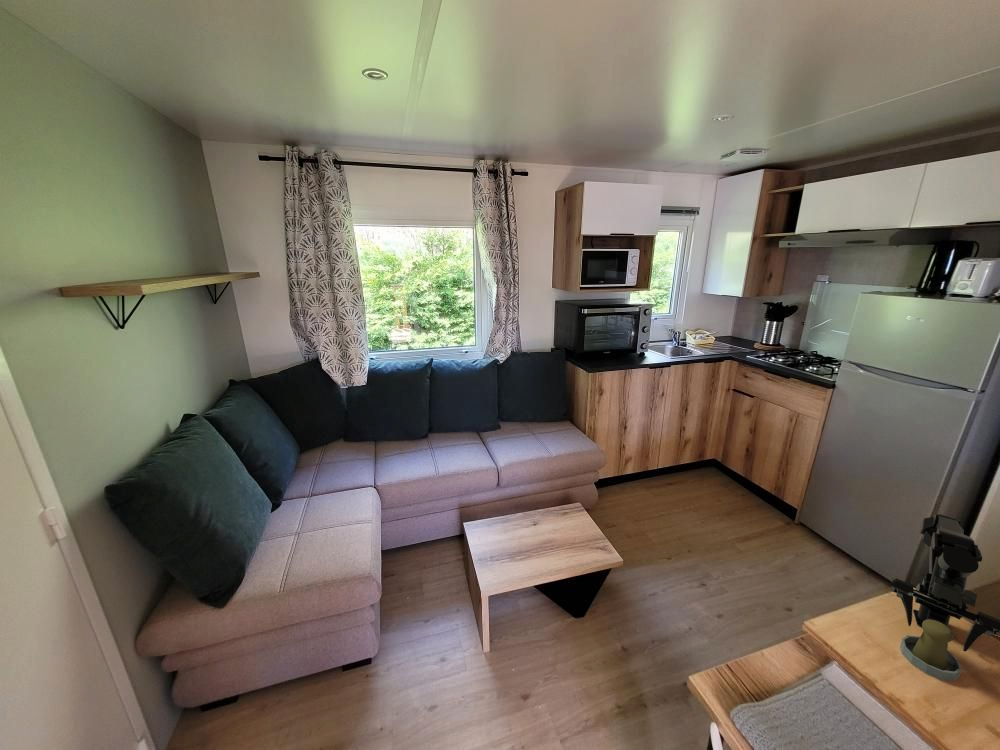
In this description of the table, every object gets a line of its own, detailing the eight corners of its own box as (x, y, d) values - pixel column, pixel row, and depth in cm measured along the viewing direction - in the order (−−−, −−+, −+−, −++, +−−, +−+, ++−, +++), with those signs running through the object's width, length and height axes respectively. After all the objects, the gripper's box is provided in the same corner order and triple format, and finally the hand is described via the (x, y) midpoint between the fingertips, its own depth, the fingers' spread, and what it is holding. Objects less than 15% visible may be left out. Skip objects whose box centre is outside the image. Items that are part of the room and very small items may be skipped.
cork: (954, 669, 95) (964, 634, 92) (932, 672, 94) (942, 637, 92) (925, 646, 100) (935, 613, 98) (905, 649, 100) (914, 616, 97)
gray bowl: (897, 636, 104) (899, 629, 104) (952, 657, 98) (954, 649, 97) (904, 664, 97) (906, 656, 96) (963, 689, 90) (966, 681, 90)
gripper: (899, 552, 101) (885, 608, 97) (1015, 594, 86) (1003, 662, 82) (897, 563, 107) (883, 616, 103) (1004, 603, 93) (993, 666, 89)
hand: (935, 637), depth 94 cm, fingers open, 9 cm apart
